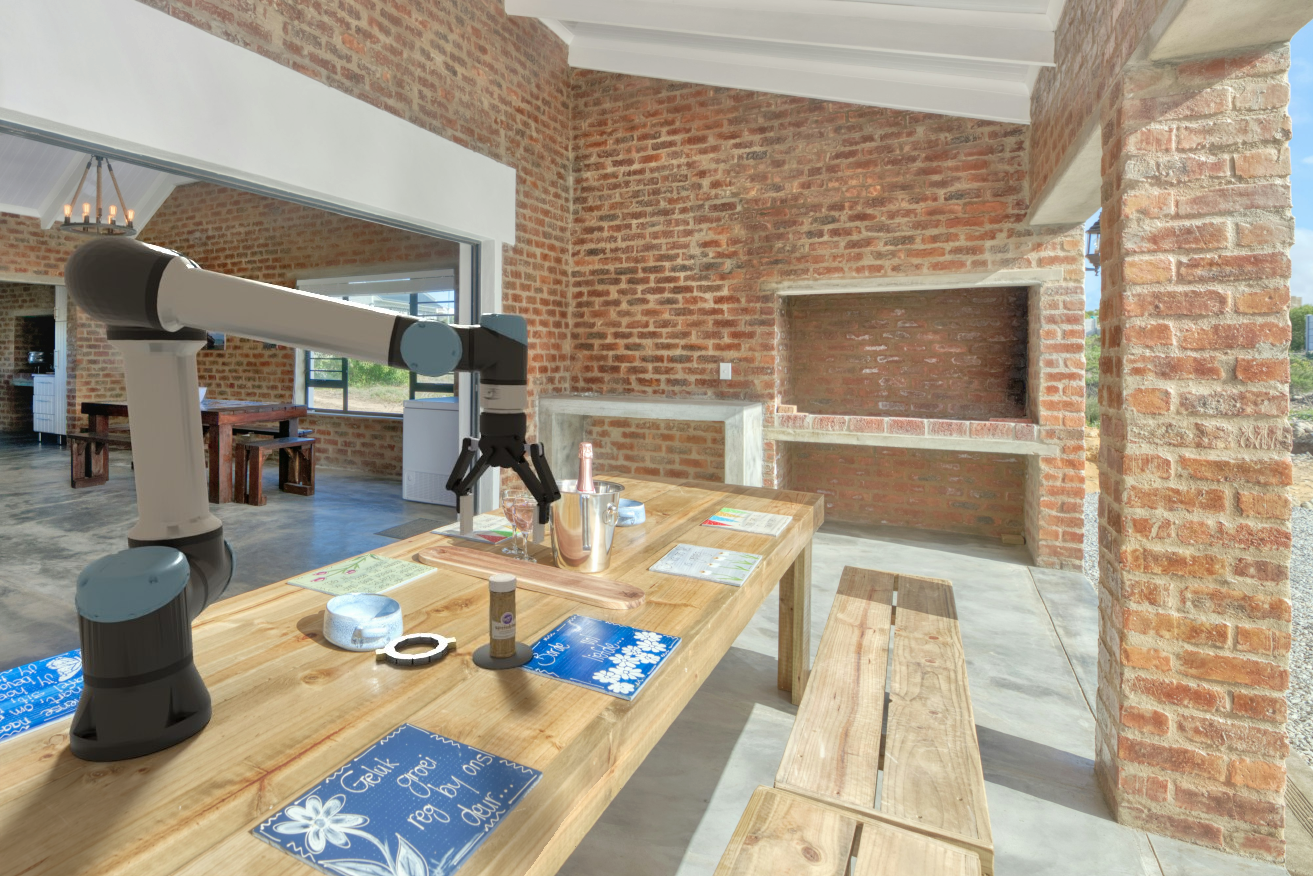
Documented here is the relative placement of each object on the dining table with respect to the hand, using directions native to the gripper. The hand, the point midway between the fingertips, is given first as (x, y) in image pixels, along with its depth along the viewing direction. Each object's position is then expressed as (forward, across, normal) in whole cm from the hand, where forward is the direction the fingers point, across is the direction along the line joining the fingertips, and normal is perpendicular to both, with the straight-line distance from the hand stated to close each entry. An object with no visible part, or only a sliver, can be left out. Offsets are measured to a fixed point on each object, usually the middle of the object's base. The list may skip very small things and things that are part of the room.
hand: (501, 538), depth 113 cm
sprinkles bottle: (+20, 0, 0) cm, 20 cm away
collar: (+21, -14, -4) cm, 25 cm away
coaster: (+21, 0, 0) cm, 21 cm away
